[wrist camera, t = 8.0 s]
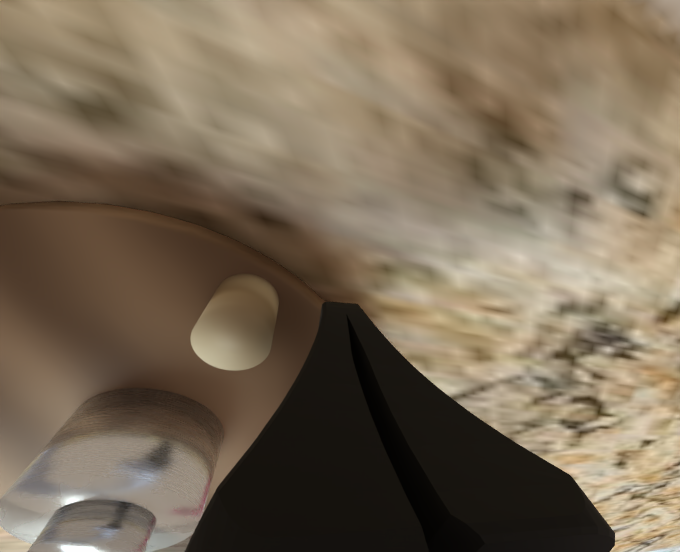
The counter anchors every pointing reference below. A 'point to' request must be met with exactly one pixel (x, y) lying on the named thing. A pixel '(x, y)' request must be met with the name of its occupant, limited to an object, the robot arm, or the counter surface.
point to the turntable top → (140, 322)
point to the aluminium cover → (118, 476)
